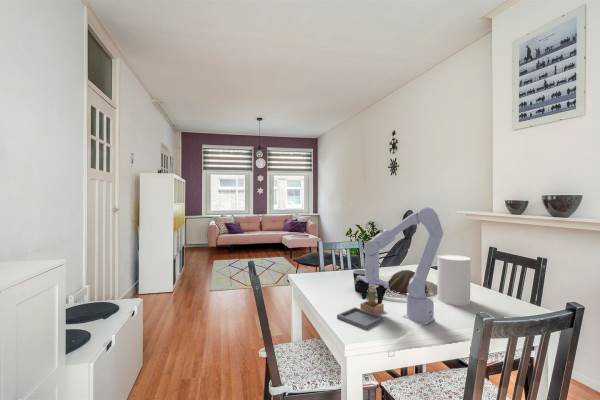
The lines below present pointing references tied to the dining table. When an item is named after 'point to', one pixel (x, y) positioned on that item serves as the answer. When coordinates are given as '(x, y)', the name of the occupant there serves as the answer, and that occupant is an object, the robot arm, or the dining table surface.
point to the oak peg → (371, 298)
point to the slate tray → (360, 318)
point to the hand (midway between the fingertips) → (371, 300)
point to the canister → (453, 279)
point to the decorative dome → (401, 281)
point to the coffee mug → (355, 274)
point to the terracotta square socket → (375, 309)
